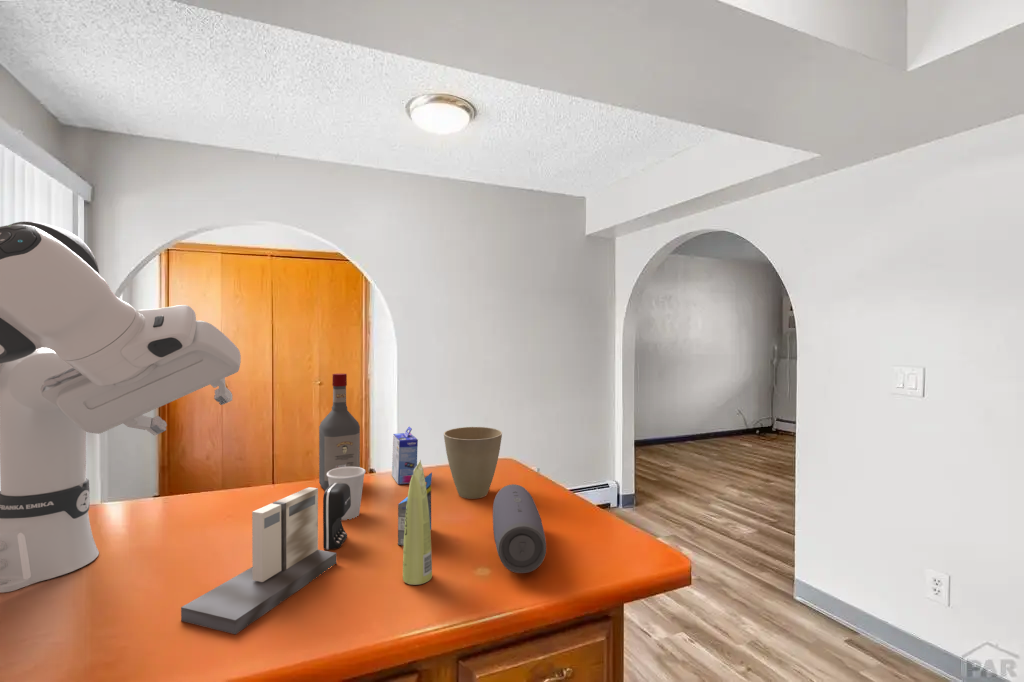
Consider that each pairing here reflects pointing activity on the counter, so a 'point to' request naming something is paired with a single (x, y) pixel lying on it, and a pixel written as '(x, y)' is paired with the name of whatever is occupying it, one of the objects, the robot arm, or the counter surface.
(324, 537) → the battery charger
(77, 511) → the robot arm
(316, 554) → the ticket holder
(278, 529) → the white tall block
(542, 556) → the bluetooth speaker
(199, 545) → the counter surface
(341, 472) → the dixie cup
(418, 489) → the tube
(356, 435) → the liquor
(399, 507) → the label tape cartridge
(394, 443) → the ink cartridge box
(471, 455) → the plant pot
